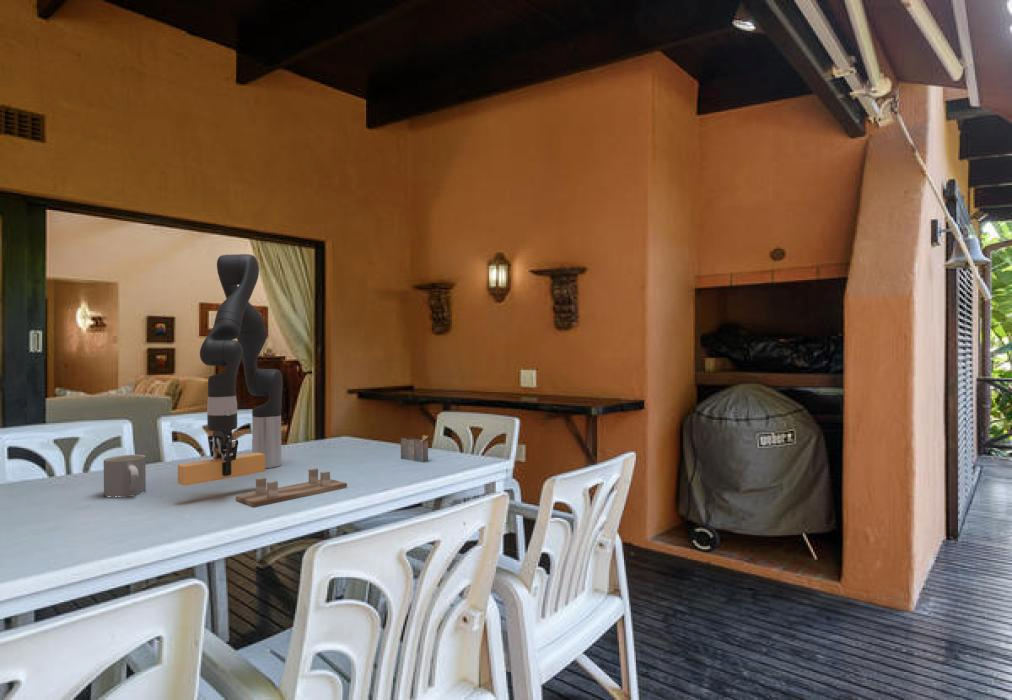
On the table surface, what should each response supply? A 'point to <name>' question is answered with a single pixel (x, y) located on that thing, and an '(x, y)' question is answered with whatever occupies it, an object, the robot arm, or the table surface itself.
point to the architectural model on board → (414, 449)
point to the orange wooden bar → (219, 469)
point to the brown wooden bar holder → (290, 489)
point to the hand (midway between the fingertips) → (223, 473)
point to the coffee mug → (124, 475)
